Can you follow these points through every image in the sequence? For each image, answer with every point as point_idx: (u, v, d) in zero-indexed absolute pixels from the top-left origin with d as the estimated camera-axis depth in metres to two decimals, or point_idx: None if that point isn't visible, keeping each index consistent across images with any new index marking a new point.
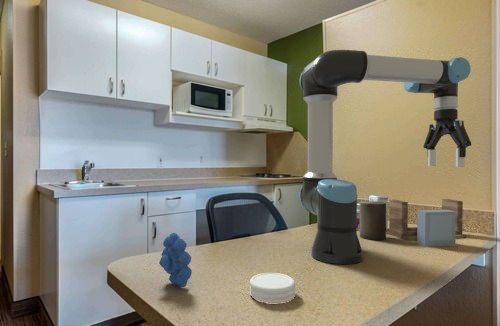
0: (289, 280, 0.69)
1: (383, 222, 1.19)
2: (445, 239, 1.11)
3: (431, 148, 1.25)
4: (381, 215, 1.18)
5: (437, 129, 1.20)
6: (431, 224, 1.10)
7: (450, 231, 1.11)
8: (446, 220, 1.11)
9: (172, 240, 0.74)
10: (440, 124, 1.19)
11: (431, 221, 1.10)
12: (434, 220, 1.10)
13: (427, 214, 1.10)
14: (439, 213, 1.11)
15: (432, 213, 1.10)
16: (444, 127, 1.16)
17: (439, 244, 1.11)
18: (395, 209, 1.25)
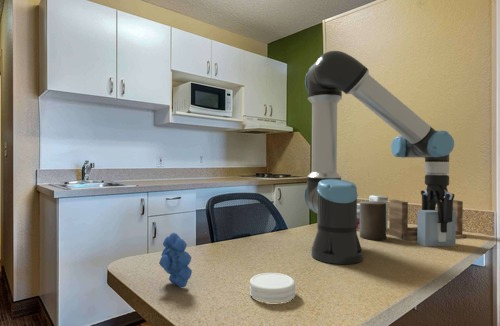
0: (289, 281, 0.69)
1: (383, 222, 1.19)
2: None
3: None
4: (381, 215, 1.18)
5: (429, 194, 1.14)
6: (431, 223, 1.10)
7: (450, 231, 1.11)
8: None
9: (172, 240, 0.74)
10: (430, 189, 1.14)
11: (432, 221, 1.10)
12: (434, 220, 1.10)
13: (427, 214, 1.10)
14: None
15: (432, 213, 1.10)
16: (434, 194, 1.11)
17: (439, 244, 1.11)
18: (395, 209, 1.25)
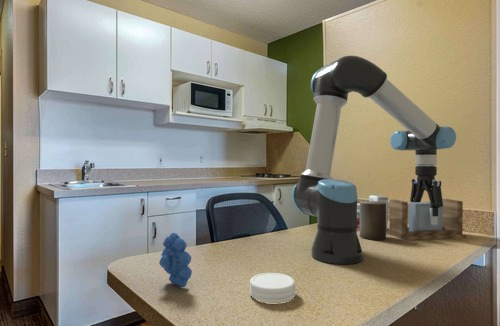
0: (289, 280, 0.69)
1: (383, 222, 1.19)
2: (433, 228, 1.25)
3: None
4: (381, 215, 1.18)
5: (418, 183, 1.28)
6: (420, 214, 1.24)
7: (437, 221, 1.25)
8: None
9: (172, 240, 0.74)
10: (420, 179, 1.28)
11: (421, 211, 1.24)
12: (424, 211, 1.24)
13: (417, 205, 1.24)
14: (428, 205, 1.25)
15: (421, 205, 1.24)
16: (424, 183, 1.25)
17: None
18: (395, 209, 1.25)
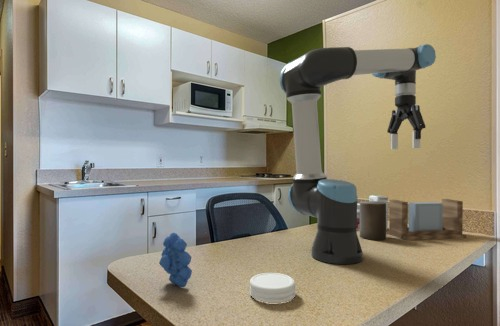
0: (289, 280, 0.69)
1: (383, 222, 1.19)
2: (433, 228, 1.25)
3: (394, 132, 1.34)
4: (381, 215, 1.18)
5: (398, 114, 1.29)
6: (420, 214, 1.24)
7: (437, 221, 1.25)
8: (434, 211, 1.25)
9: (172, 240, 0.74)
10: (400, 109, 1.28)
11: (421, 211, 1.24)
12: (424, 211, 1.24)
13: (417, 205, 1.24)
14: (428, 205, 1.25)
15: (421, 205, 1.24)
16: (403, 112, 1.25)
17: None
18: (395, 209, 1.25)
